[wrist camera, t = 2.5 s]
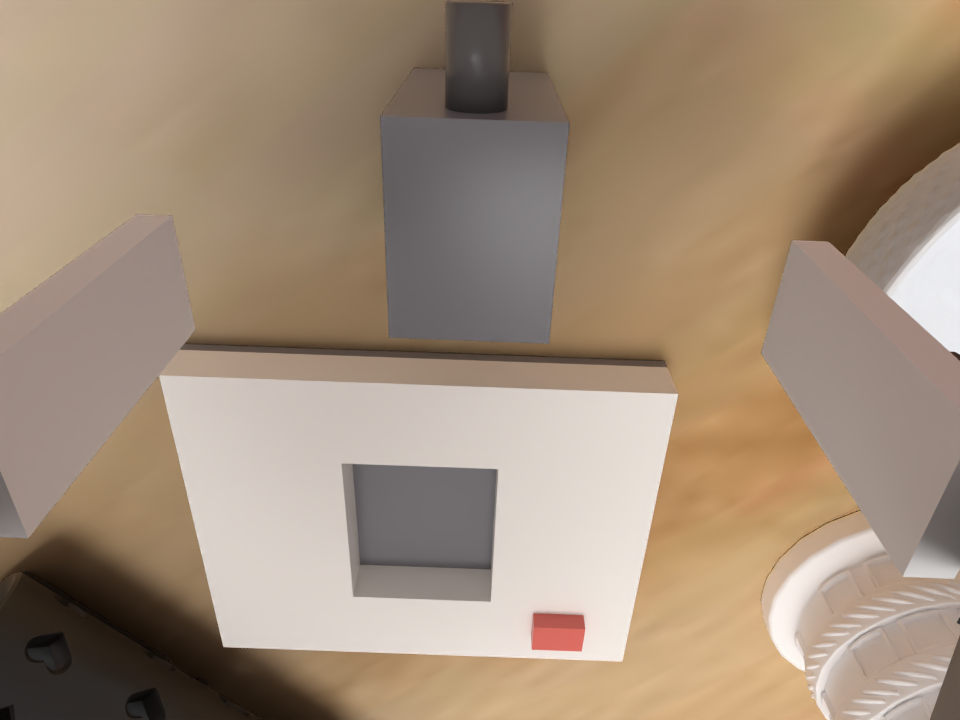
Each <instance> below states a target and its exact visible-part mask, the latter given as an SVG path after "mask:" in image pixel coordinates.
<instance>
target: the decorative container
mask: <svg viewBox="0 0 960 720" xmlns="http://www.w3.org/2000/svg"><path fill="white" fill-rule="evenodd" d="M761 606H762V614H763V620H764V622H765V625H766V627H767V630H768V632H769V635H770V637H771V639H772V641H773V643H774V644H775V646H776V648H777V649H778V651H779V653H780V654H781V656H783V657H784V658H785V659H786V660H788V661H789V662H790V663H791V664H793V665H794V666H795V667H796V668H798V669H800V670H803V671H805V676H806V679H807V682H808V684H809V685H808V686H807V687H808V689H810V690H811V691H812V694H811V697H812V698H815V700H816V703H817V707H819V708H820V709H821V711H822V713H823V715H824V716H825V718H826V719H828V720H930V717H931V715H932V712H933V709H934V706H935V703H936V701H937V698H938V695H939V692H940V689H941V687H942V684H943V681H944V678H945V675H946V672H947V670H948V667H949V664H950V661H951V658H952V656H953V653H954V650H955V647H956V644H957V641H958V639H959V636H960V624H958V623H957V621H958V619H959V617H960V569H959V571H958V573H957V575H956V577H955V578H954V579H943V578H921V577H902V575H901V573H900V572H899V570H898V569H897V567H896V566H895V564H894V562H893V561H892V559H891V558H890V556H889V555H888V553H887V551H886V550H885V548H884V547H883V545H882V543H881V542H880V540H879V539H878V537H877V536H876V534H875V532H874V531H873V529H872V528H871V526H870V524H869V523H868V521H867V520H866V518H865V517H864V515H863V513H862V512H861V511H858V512H855V513H852V514H850V515H847V516H845V517H842V518H839V519H837V520H834V521H831V522H829V523H827V524H825V525H823V526H822V527H820V528H818V529H817V530H815V531H813V532H812V533H810V534H808V535H807V536H805V537H803V538H802V539H800V540H799V541H798V542H797V543H796V544H795V545H794V546H793V547H792V548H790V549H789V550H788V551H787V552H786V553H785V554H784V555H783V556H782V557H781V558H780V559H779V560H778V562H777V563H776V565H775V566H774V568H773V569H772V571H771V573H770V574H769V576H768V577H767V579H766V581H765V585H764V589H763V593H762V597H761Z"/></svg>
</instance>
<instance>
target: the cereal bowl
mask: <svg viewBox="0 0 960 720" xmlns="http://www.w3.org/2000/svg"><path fill="white" fill-rule="evenodd" d="M845 257H846V258H847V259H848V260H849V261H851V262H852V263H853V264H854V265H855V266H856V267H857V268H858V269H859V270H860V271H862V272H863V273H864V274H865V275H866V276H867V277H868V278H869V279H870V280H871V281H873V282H874V283H875V284H876V285H877V286H878V287H879V288H880V289H881V290H882V291H884V292H885V293H886V294H887V295H888V296H889V297H890V298H891V299H892V300H893V301H895V302H896V303H897V304H898V305H899V306H900V307H901V308H902V309H903V310H904V311H906V312H907V313H908V314H909V315H910V316H911V317H912V318H913V319H914V320H915V321H917V322H918V323H919V324H920V325H921V326H922V327H923V328H924V329H925V330H926V331H928V332H929V333H930V334H931V335H932V336H933V337H934V338H935V339H936V340H937V341H939V342H940V343H941V344H942V345H943V346H944V347H945V348H946V349H947V350H948V351H950V352H956V353H958V354H960V143H958V144H956V145H955V146H954V147H953V148H951V149H949V150H947V151H945V152H943V153H942V154H941V155H940V156H939V157H938V158H937V159H936V160H934V161H933V162H931V163H929V164H928V165H927V166H926V167H925V168H924V169H923V170H921V171H919V172H917V173H915V174H914V175H913V176H912V178H911V179H910V180H909V181H907V182H906V183H905V184H903V185H902V186H901V187H900V188H899V189H898V191H897V192H896V193H895V194H894V195H892V196H891V197H890V198H889V200H888V201H887V202H886V203H885V204H884V205H883V206H882V207H880V208H879V210H878V211H877V213H876V214H875V215H874V216H873V217H872V219H871V220H870V221H869V222H868V224H867V226H866V227H865V228H864V229H863V231H862V232H861V233H860V234H859V236H858V237H857V239H856V241H855V242H854V244H853V245H852V246H851V247H850V248H849V250H848V252H847V254H846V256H845Z"/></svg>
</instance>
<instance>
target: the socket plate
mask: <svg viewBox="0 0 960 720" xmlns="http://www.w3.org/2000/svg"><path fill="white" fill-rule="evenodd" d="M159 378H160V382H161V386H162V390H163V395H164V399H165V403H166V407H167V412H168V416H169V420H170V424H171V428H172V433H173V437H174V441H175V445H176V449H177V454H178V458H179V462H180V466H181V470H182V475H183V479H184V483H185V487H186V492H187V496H188V500H189V504H190V508H191V513H192V517H193V521H194V525H195V529H196V534H197V538H198V542H199V546H200V551H201V555H202V559H203V563H204V567H205V572H206V576H207V580H208V584H209V588H210V593H211V597H212V601H213V605H214V609H215V614H216V618H217V622H218V626H219V631H220V635H221V639H222V643H223V647H235V648H263V649H290V650H318V651H346V652H374V653H402V654H430V655H457V656H485V657H513V658H541V659H569V660H597V661H623V656H624V651H625V646H626V641H627V637H628V632H629V627H630V622H631V618H632V613H633V608H634V603H635V598H636V594H637V589H638V584H639V579H640V574H641V570H642V565H643V560H644V555H645V551H646V546H647V541H648V536H649V531H650V527H651V522H652V517H653V512H654V508H655V503H656V498H657V493H658V488H659V484H660V479H661V474H662V469H663V465H664V460H665V455H666V450H667V445H668V441H669V436H670V431H671V426H672V422H673V417H674V412H675V407H676V402H677V398H678V392H677V390H676V387H675V385H674V383H673V380H672V378H671V375H670V373H669V371H668V368H667V366H666V363H665V361H647V360H619V359H591V358H563V357H536V356H508V355H480V354H453V353H425V352H397V351H369V350H342V349H314V348H286V347H258V346H231V345H203V344H184V345H183V346H182V347H181V348H180V350H179V351H178V352H177V353H176V355H175V356H174V357H173V358H172V360H171V361H170V362H169V363H168V365H167V366H166V367H165V368H164V370H163V371H162V372H161V373H160V375H159Z"/></svg>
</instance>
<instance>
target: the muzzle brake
mask: <svg viewBox="0 0 960 720" xmlns="http://www.w3.org/2000/svg"><path fill="white" fill-rule="evenodd" d="M0 720H261V719H259V718H258V717H256V716H254V715H253V714H251V713H249V712H248V711H246V710H245V709H243V708H241V707H240V706H238V705H236V704H235V703H233V702H231V701H229V700H227V699H226V698H225V697H223V696H222V695H220V694H219V693H217V692H215V691H214V690H212V689H210V688H209V687H208V682H206V681H205V680H203V679H202V678H201V679H199V680H196V679H194V678H193V677H191V676H189V675H188V674H186V673H184V672H183V671H181V670H180V669H178V668H176V667H175V666H173V665H171V664H170V659H169V658H168V657H166V656H164V655H163V654H161V653H160V652H158V651H156V650H155V649H153V648H151V647H150V646H148V645H147V644H145V643H143V642H142V641H140V640H138V639H137V638H135V637H134V636H132V635H130V634H129V633H127V632H126V631H124V630H122V629H121V628H119V627H117V626H116V625H114V624H113V623H111V622H109V621H108V620H106V619H105V618H103V617H101V616H100V615H98V614H96V613H95V612H93V611H92V610H90V609H88V608H87V607H85V606H83V605H82V604H80V603H79V602H77V601H75V600H74V599H72V598H71V597H69V596H67V595H66V594H64V593H62V592H61V591H59V590H58V589H56V588H54V587H53V586H51V585H49V584H48V583H46V582H45V581H43V580H41V579H40V578H38V577H37V576H35V575H33V574H32V573H30V572H28V571H24V572H17V573H13V574H11V575H9V576H7V577H6V578H5V579H4V580H3V581H1V582H0Z"/></svg>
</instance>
